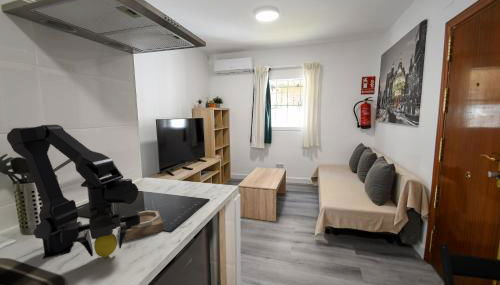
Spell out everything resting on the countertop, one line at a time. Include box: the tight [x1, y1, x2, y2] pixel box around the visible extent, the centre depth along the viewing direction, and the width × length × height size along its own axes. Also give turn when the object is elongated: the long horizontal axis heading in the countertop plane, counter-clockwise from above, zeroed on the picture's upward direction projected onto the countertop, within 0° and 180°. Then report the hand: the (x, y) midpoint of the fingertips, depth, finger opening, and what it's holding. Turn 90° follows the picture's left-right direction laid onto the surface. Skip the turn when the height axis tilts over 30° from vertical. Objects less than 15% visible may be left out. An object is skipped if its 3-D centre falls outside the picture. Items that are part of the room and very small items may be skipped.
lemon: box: [93, 233, 118, 258], centre depth 64 cm, size 6×6×8 cm
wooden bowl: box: [124, 210, 164, 241], centre depth 81 cm, size 12×12×4 cm
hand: (106, 251), depth 64 cm, fingers open, 7 cm apart
